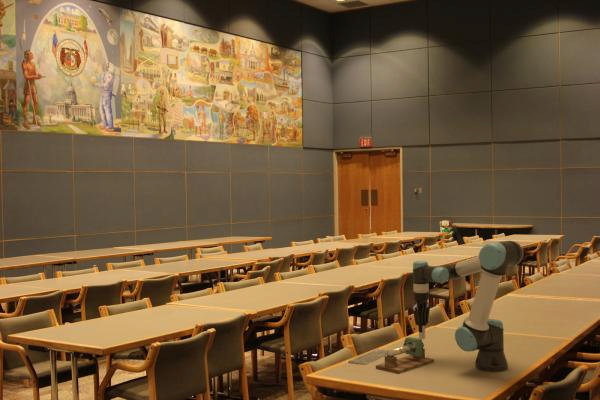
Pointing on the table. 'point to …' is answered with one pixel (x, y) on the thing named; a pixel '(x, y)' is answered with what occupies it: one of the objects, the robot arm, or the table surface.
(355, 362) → the keyboard
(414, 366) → the pipe stand
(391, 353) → the steel pipe
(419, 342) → the collar
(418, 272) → the robot arm
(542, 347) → the table surface
